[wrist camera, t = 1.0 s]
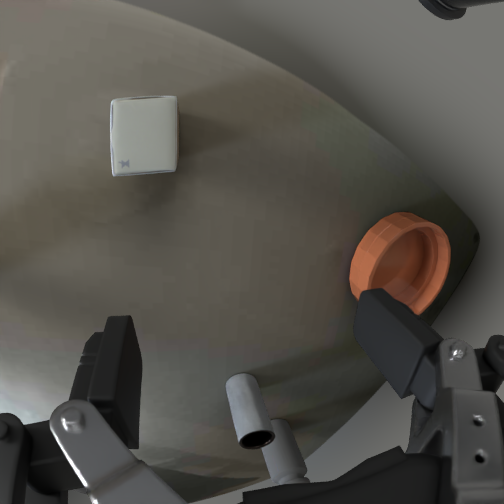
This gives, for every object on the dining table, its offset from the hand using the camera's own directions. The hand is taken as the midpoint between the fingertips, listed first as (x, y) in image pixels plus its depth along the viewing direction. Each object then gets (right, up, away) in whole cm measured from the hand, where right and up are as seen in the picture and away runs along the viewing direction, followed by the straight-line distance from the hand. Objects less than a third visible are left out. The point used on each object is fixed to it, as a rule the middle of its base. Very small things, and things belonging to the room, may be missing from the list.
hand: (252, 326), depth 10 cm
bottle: (+4, -28, +38) cm, 47 cm away
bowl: (+19, +1, +29) cm, 34 cm away
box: (-9, +14, +17) cm, 24 cm away
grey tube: (-2, -16, +31) cm, 35 cm away
